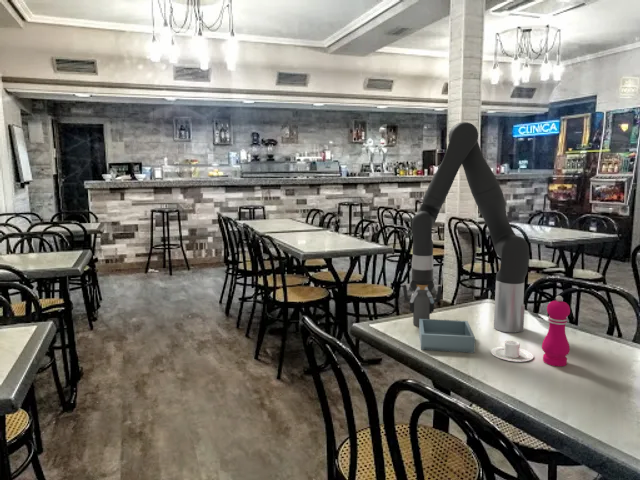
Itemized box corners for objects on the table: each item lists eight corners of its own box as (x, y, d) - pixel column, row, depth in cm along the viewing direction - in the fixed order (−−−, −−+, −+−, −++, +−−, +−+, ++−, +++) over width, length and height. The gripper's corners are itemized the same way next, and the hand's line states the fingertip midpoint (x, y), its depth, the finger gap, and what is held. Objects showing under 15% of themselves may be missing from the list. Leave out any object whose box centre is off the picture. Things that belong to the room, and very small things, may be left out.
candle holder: (497, 346, 153) (498, 333, 152) (537, 354, 145) (538, 340, 145) (485, 357, 143) (486, 344, 142) (527, 367, 136) (528, 352, 135)
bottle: (428, 321, 175) (429, 282, 173) (430, 326, 170) (431, 285, 167) (412, 321, 176) (413, 281, 174) (413, 326, 170) (414, 285, 168)
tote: (466, 335, 162) (467, 320, 161) (474, 352, 146) (474, 337, 145) (419, 332, 164) (419, 318, 163) (420, 349, 149) (421, 334, 148)
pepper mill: (557, 369, 134) (562, 300, 131) (535, 360, 140) (539, 294, 137) (574, 364, 137) (579, 297, 134) (551, 355, 143) (556, 291, 140)
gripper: (402, 268, 167) (401, 314, 170) (444, 269, 165) (442, 316, 167) (402, 264, 175) (401, 308, 177) (442, 265, 172) (441, 310, 175)
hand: (421, 312), depth 172 cm, fingers closed on bottle, 6 cm apart
